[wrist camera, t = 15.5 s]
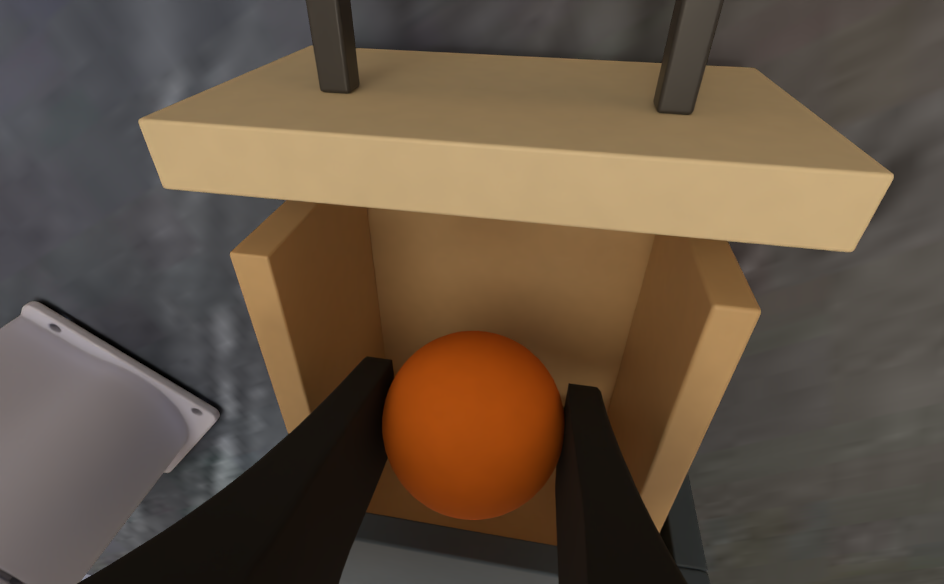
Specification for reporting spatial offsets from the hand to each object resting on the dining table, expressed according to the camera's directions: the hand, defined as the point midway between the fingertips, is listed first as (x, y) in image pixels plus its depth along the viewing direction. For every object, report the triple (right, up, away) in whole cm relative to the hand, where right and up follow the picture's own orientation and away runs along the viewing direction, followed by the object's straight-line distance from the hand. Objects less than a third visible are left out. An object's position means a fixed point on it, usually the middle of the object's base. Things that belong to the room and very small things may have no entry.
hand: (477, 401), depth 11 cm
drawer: (+1, +5, +3) cm, 6 cm away
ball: (0, 0, 0) cm, 1 cm away
